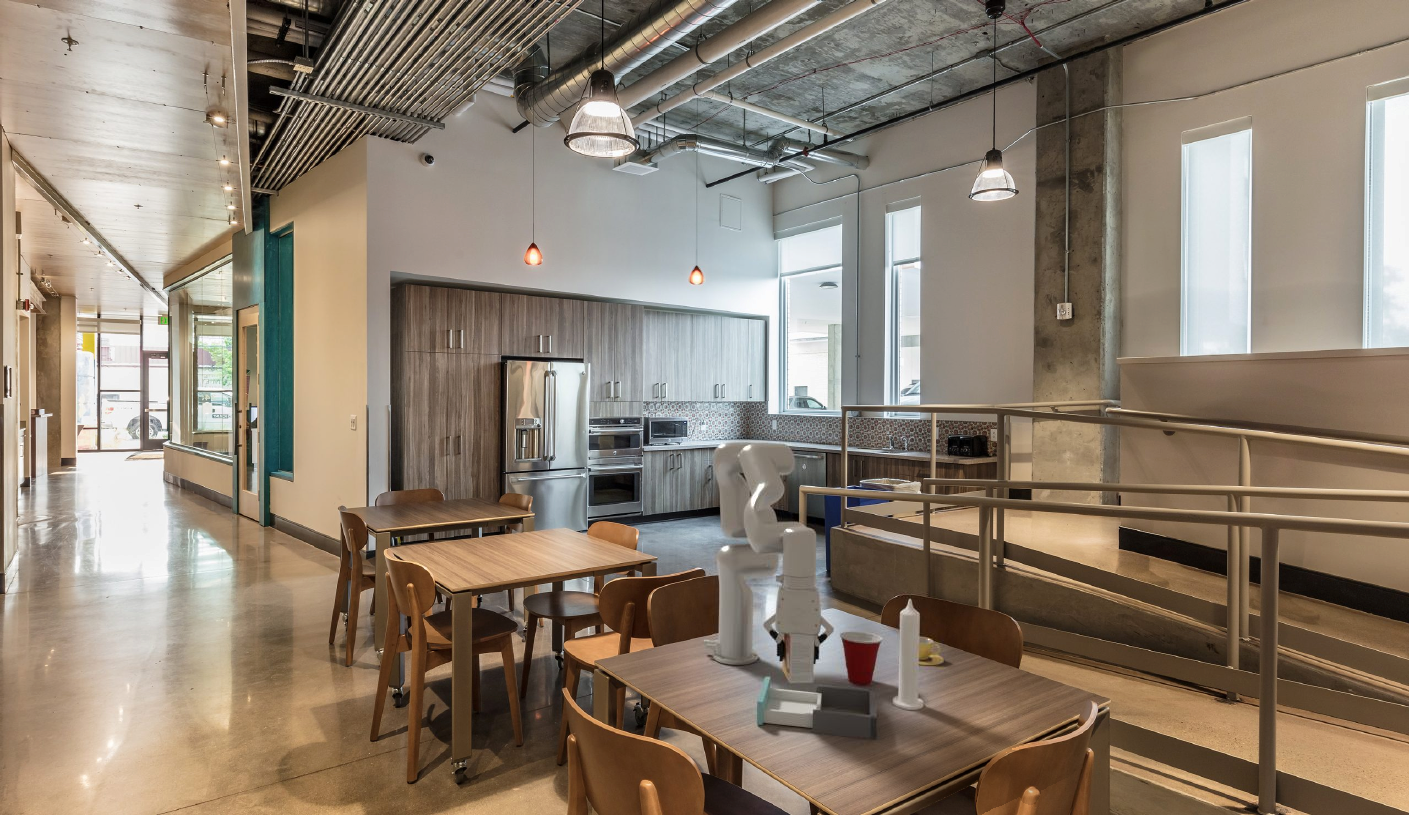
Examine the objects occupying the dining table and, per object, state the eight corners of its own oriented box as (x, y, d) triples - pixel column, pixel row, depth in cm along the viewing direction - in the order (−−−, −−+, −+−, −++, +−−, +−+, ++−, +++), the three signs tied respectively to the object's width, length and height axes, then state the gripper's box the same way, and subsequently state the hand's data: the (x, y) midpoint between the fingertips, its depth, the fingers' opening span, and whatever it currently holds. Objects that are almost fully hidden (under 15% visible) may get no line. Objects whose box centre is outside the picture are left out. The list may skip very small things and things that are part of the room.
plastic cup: (886, 678, 189) (887, 632, 189) (876, 692, 179) (877, 643, 179) (845, 670, 194) (846, 625, 194) (833, 684, 184) (834, 636, 184)
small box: (782, 670, 168) (782, 625, 168) (805, 670, 169) (806, 625, 169) (788, 683, 160) (789, 635, 160) (813, 683, 161) (814, 635, 161)
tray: (756, 724, 159) (757, 701, 159) (765, 697, 174) (765, 676, 174) (818, 730, 156) (819, 707, 156) (821, 703, 171) (822, 681, 171)
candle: (924, 700, 175) (926, 596, 175) (922, 712, 168) (925, 604, 168) (893, 696, 177) (895, 593, 177) (891, 707, 170) (893, 600, 170)
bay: (812, 732, 156) (812, 711, 156) (816, 703, 172) (816, 684, 172) (876, 739, 153) (876, 718, 153) (874, 708, 169) (874, 689, 169)
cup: (897, 662, 201) (897, 643, 201) (902, 649, 213) (902, 631, 213) (942, 669, 197) (942, 649, 197) (945, 655, 208) (945, 636, 208)
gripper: (758, 583, 163) (757, 663, 163) (837, 588, 159) (836, 669, 159) (762, 576, 170) (761, 652, 170) (838, 580, 167) (837, 658, 166)
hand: (797, 660), depth 165 cm, fingers closed on small box, 6 cm apart
